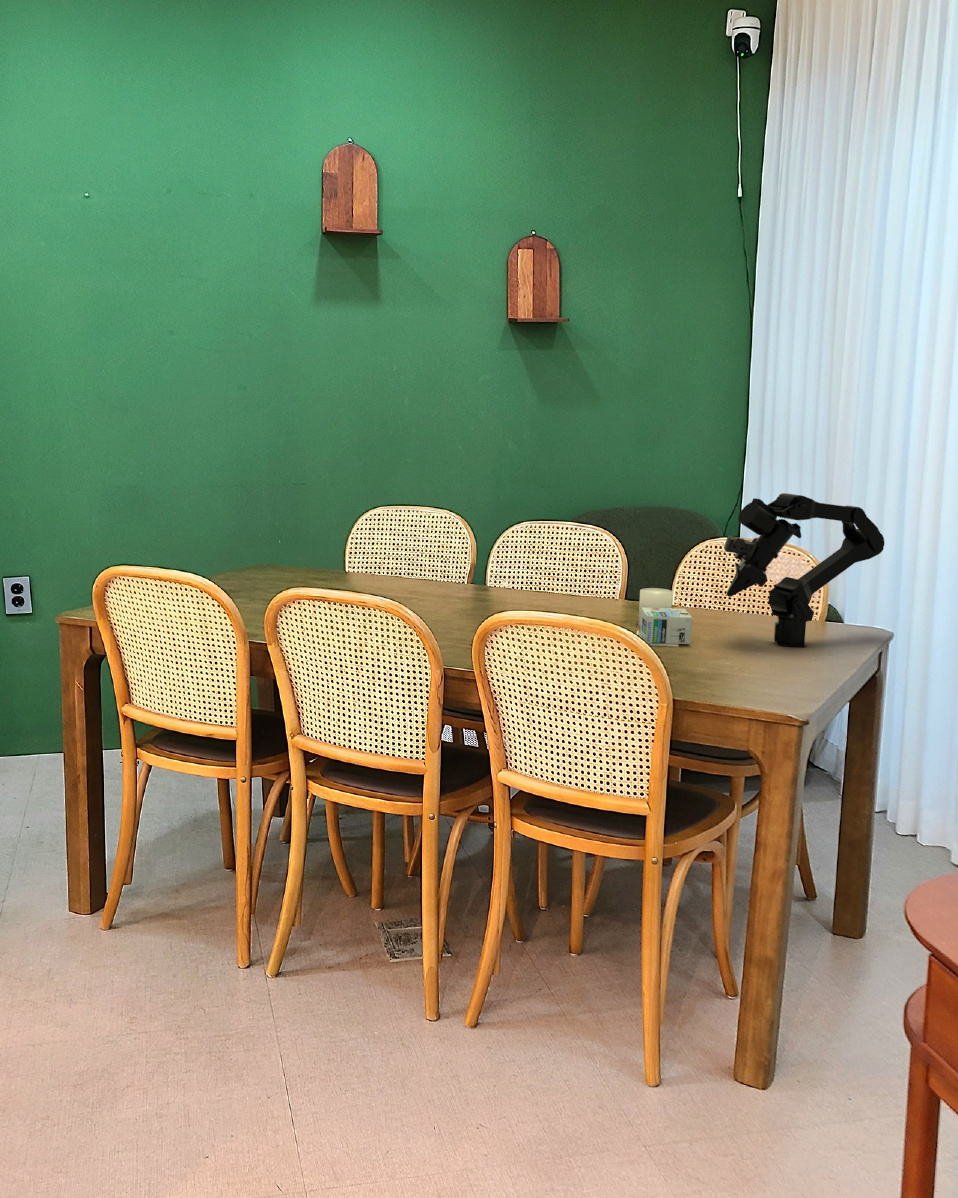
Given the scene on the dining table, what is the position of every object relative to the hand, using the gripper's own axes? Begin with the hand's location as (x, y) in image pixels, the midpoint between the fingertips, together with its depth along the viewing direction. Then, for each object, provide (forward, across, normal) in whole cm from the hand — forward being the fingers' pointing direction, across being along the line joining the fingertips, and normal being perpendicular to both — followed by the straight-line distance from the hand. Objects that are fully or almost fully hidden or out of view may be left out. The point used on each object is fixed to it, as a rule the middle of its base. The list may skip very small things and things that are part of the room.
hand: (727, 595), depth 257 cm
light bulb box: (+11, +1, -3) cm, 12 cm away
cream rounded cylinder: (+19, -16, -7) cm, 26 cm away
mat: (+18, 0, -7) cm, 20 cm away
